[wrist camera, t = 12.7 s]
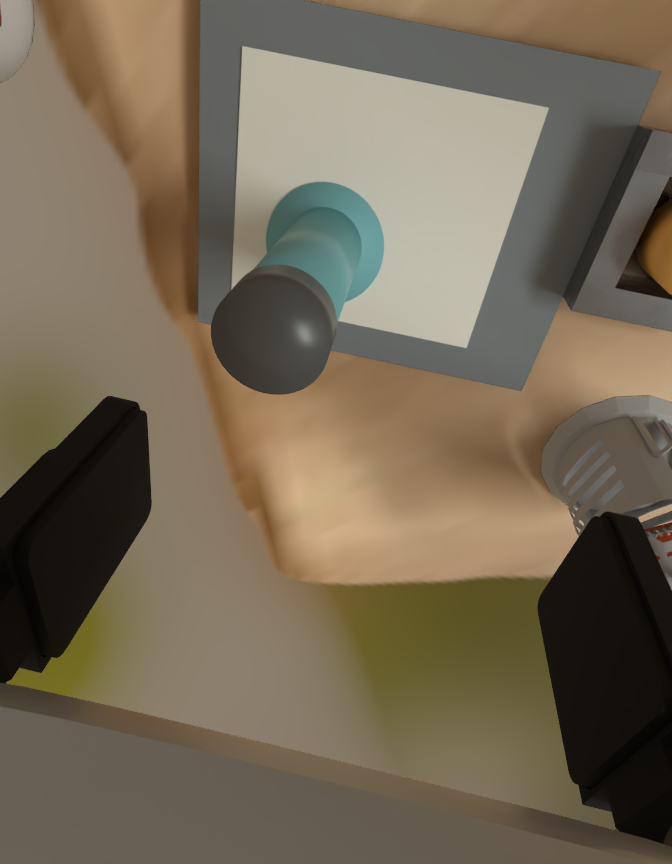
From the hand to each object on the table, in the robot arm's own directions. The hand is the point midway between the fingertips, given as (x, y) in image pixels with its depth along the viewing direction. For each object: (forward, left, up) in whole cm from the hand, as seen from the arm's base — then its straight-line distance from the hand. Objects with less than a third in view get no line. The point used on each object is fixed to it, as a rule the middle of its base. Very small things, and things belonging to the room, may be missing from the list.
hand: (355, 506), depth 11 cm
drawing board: (+1, -1, -21) cm, 21 cm away
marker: (+4, +1, -20) cm, 21 cm away
